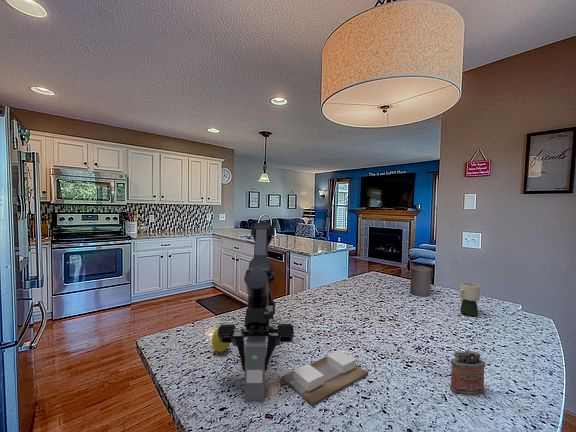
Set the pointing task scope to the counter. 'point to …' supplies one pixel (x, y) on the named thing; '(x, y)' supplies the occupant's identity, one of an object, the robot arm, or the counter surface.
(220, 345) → the lemon
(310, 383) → the terminal blocks
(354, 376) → the board
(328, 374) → the rail
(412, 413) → the counter surface
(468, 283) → the character mug
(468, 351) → the lighter
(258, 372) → the block
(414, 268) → the pillar candle
